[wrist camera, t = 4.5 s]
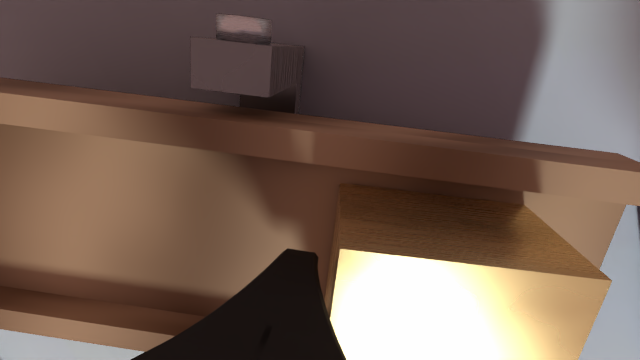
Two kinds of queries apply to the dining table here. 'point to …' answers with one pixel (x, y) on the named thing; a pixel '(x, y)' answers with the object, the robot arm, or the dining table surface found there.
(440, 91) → the dining table surface
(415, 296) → the block
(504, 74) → the dining table surface
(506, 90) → the dining table surface
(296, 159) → the beam
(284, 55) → the stand
